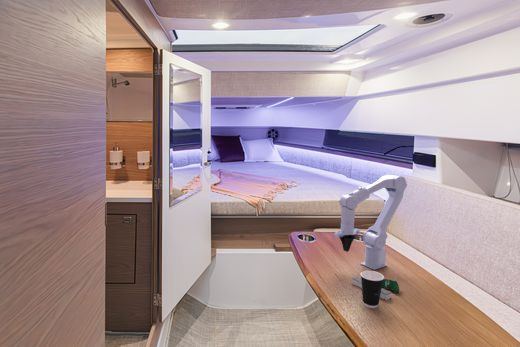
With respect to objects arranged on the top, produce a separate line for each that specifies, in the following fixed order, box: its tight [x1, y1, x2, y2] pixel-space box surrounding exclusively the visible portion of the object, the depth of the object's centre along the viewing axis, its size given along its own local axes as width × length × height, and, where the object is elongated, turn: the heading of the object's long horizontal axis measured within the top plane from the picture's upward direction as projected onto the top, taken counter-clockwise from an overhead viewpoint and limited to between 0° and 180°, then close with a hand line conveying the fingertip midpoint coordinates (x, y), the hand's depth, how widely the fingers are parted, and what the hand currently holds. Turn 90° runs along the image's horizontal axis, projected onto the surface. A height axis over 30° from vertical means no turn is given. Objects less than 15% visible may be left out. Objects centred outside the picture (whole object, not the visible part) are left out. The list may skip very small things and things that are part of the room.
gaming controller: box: [382, 278, 400, 295], centre depth 125 cm, size 9×4×6 cm
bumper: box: [351, 276, 392, 301], centre depth 123 cm, size 3×16×2 cm, turn 33°
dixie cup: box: [360, 270, 385, 309], centre depth 112 cm, size 8×8×11 cm
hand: (346, 250), depth 144 cm, fingers closed
